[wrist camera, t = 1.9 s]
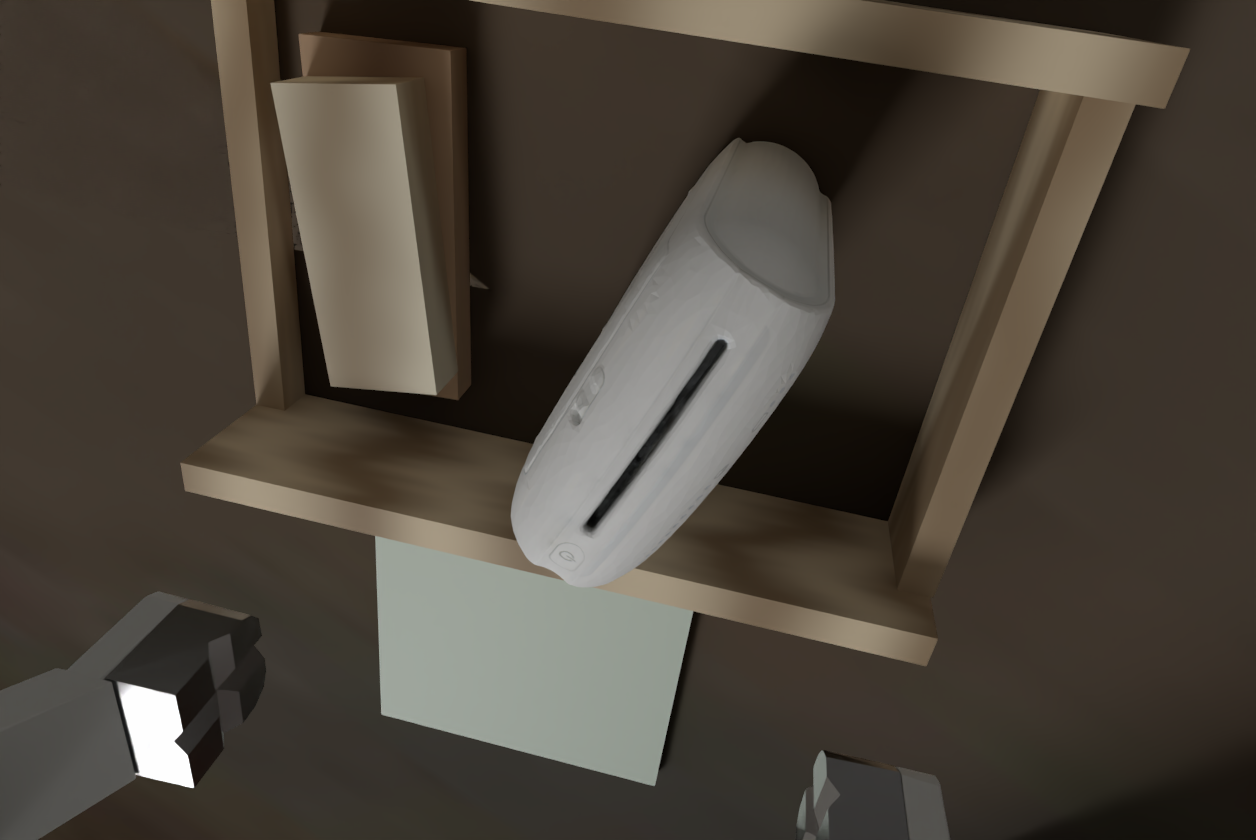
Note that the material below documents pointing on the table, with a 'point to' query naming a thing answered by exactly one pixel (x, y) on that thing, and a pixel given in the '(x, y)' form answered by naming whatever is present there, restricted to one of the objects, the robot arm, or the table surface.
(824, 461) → the table surface
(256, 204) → the frame
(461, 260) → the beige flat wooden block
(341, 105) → the birch offcut
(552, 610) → the sage board
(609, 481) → the photo printer
